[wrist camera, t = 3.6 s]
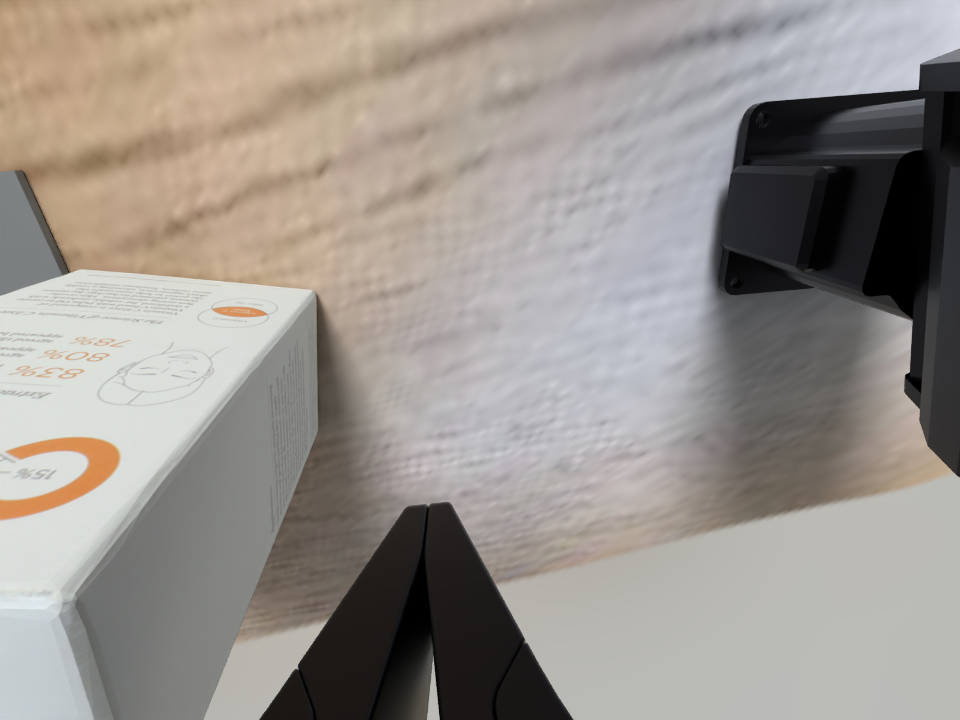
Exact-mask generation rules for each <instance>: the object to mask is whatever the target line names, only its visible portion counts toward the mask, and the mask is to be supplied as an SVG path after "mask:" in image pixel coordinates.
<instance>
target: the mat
mask: <svg viewBox="0 0 960 720" xmlns="http://www.w3.org/2000/svg"><path fill="white" fill-rule="evenodd" d="M66 274H69V272H68V270H67V268H66V266H65V263H64V261H63V259H62V257H61V255H60V253H59V250H58V248H57V246H56V244H55V242H54V239H53V237H52V235H51V233H50V231H49V228H48V226H47V224H46V222H45V220H44V217H43V215H42V213H41V211H40V209H39V206H38V204H37V202H36V200H35V198H34V195H33V193H32V191H31V189H30V187H29V184H28V182H27V180H26V178H25V176H24V173H23V171H5V172H0V296H2V295H5V294H8V293H11V292H13V291H16V290H19V289H22V288H25V287H28V286H31V285H35V284H38V283H41V282H44V281H47V280H50V279H53V278H57V277H61V276H63V275H66Z"/></svg>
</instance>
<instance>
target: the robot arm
mask: <svg viewBox="0 0 960 720" xmlns="http://www.w3.org/2000/svg"><path fill="white" fill-rule="evenodd" d="M761 112H762V114H763V115H764V120H763V123H762V125H761V126H760V127H758V125H757V123H756V119H757V116H758V115H759V114H760V113H761ZM721 243H722V245H723V253H722V260H721V267H720V274H719V281H718V282H719V287H720V289H721V290H722V291H724V292H726V293H728V294H730V295H742V294H752V293H763V292H774V291H785V290H796V289H807V288H818V289H821V290H824V291H827V292H830V293H833V294H836V295H839V296H841V297H844V298H847V299H850V300H853V301H856V302H859V303H862V304H865V305H868V306H870V307H873V308H876V309H879V310H882V311H885V312H888V313H891V314H894V315H897V316H900V317H902V318H905V319H908V320H911V321H913V325H912V344H911V362H910V373H908V374H906V375H905V384H904V392H905V394H906V395H907V396H908V397H909V398H910V399H911V400H912V401H913V402H914V403H915V405H916V406H917V407H918V408H919V409H920V417H919V421H920V424H921V427H922V430H923V433H924V436H925V439H926V442H927V445H928V447H929V448H930V449H931V450H932V451H933V452H934V453H935V454H936V455H937V456H938V457H939V458H940V459H941V460H942V461H943V462H944V463H945V464H946V465H947V466H948V467H949V468H950V469H951V470H952V471H953V472H954V473H955V474H956V475H957V476H959V477H960V49H958V50H955V51H952V52H950V53H947V54H945V55H942V56H939V57H937V58H934V59H932V60H929V61H926V62H924V63H922V64H920V79H919V90H909V91H896V92H884V93H871V94H858V95H846V96H833V97H820V98H808V99H795V100H782V101H770V102H763V103H758V104H755V105H752V106H751V107H750V108H749V109H748V110H747V111H746V112H745V114H744V116H743V119H742V124H741V131H740V138H739V144H738V151H737V158H736V165H735V170H734V171H733V172H732V174H731V178H730V185H729V192H728V199H727V206H726V213H725V220H724V227H723V234H722V241H721ZM736 276H737V282H736V283H735V284H734V285H733V286H731V284H730V283H731V280H732V279H733V278H734V277H736ZM433 656H434V665H435V676H436V686H437V696H438V705H439V716H440V720H573V718H572V717H571V715H570V714H569V712H568V711H567V709H566V708H565V706H564V705H563V703H562V702H561V700H560V699H559V697H558V696H557V694H556V692H555V691H554V689H553V687H552V685H551V684H550V682H549V680H548V679H547V677H546V675H545V674H544V672H543V670H542V668H541V667H540V665H539V663H538V661H537V660H536V658H535V656H534V654H533V652H532V651H531V649H530V647H529V645H528V644H527V643H525V638H524V637H523V635H522V633H521V631H520V629H519V627H518V625H517V624H516V622H515V620H514V618H513V616H512V614H511V612H510V611H509V609H508V607H507V605H506V604H505V601H504V600H503V598H502V596H501V594H500V592H499V590H498V589H497V587H496V585H495V583H494V581H493V579H492V578H491V576H490V574H489V572H488V570H487V568H486V567H485V565H484V563H483V561H482V559H481V557H480V556H479V554H478V552H477V550H476V548H475V546H474V545H473V543H472V541H471V539H470V537H469V535H468V534H467V532H466V530H465V528H464V526H463V524H462V523H461V521H460V519H459V517H458V515H457V513H456V512H455V510H454V508H453V506H452V504H451V503H449V502H441V503H432V504H430V506H429V507H428V506H427V505H426V504H422V505H412V506H408V507H406V508H405V509H404V511H403V512H402V514H401V515H400V517H399V518H398V520H397V521H396V523H395V524H394V525H393V527H392V528H391V530H390V531H389V533H388V534H387V536H386V537H385V539H384V540H383V542H382V543H381V544H380V546H379V547H378V549H377V550H376V552H375V553H374V555H373V556H372V558H371V559H370V560H369V562H368V563H367V565H366V566H365V568H364V569H363V571H362V572H361V574H360V575H359V577H358V578H357V579H356V581H355V582H354V584H353V585H352V587H351V588H350V590H349V591H348V593H347V594H346V595H345V597H344V598H343V600H342V601H341V603H340V604H339V606H338V607H337V609H336V610H335V612H334V613H333V614H332V616H331V617H330V619H329V620H328V622H327V623H326V625H325V626H324V628H323V629H322V631H321V632H320V633H319V635H318V636H317V638H316V639H315V641H314V642H313V644H312V645H311V647H310V648H309V650H308V651H307V652H306V654H305V655H304V657H303V658H302V660H301V661H300V663H299V664H298V669H299V670H298V669H295V670H294V671H293V672H292V674H291V675H290V677H289V678H288V680H287V681H286V683H285V684H284V686H283V687H282V688H281V690H280V692H279V693H278V694H277V696H276V697H275V699H274V700H273V701H272V703H271V704H270V705H269V707H268V708H267V710H266V711H265V712H264V714H263V715H262V717H261V718H260V719H259V720H427V713H428V701H429V692H430V682H431V671H432V662H433Z"/></svg>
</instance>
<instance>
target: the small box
mask: <svg viewBox="0 0 960 720" xmlns="http://www.w3.org/2000/svg"><path fill="white" fill-rule="evenodd" d="M317 433H318V382H317V303H316V293H315V291H313V290H307V289H296V288H286V287H276V286H265V285H255V284H244V283H234V282H223V281H212V280H200V279H190V278H179V277H168V276H157V275H146V274H134V273H123V272H109V271H97V270H85V269H82V270H77V271H75V272H72V273H69V274H66V275H63V276H61V277H57V278H53V279H50V280H47V281H44V282H41V283H38V284H35V285H31V286H28V287H25V288H22V289H19V290H16V291H13V292H11V293H8V294H5V295H2V296H0V720H203V719H204V717H205V714H206V712H207V709H208V707H209V704H210V702H211V699H212V697H213V694H214V692H215V689H216V687H217V684H218V682H219V679H220V677H221V674H222V672H223V669H224V667H225V664H226V662H227V659H228V657H229V654H230V652H231V649H232V646H233V644H234V642H235V639H236V637H237V634H238V632H239V629H240V627H241V624H242V622H243V619H244V617H245V614H246V611H247V609H248V606H249V604H250V601H251V599H252V596H253V594H254V591H255V589H256V586H257V584H258V581H259V579H260V576H261V574H262V571H263V569H264V566H265V564H266V561H267V559H268V556H269V554H270V551H271V549H272V547H273V544H274V542H275V539H276V536H277V534H278V531H279V529H280V526H281V524H282V521H283V519H284V517H285V514H286V512H287V509H288V506H289V504H290V501H291V499H292V496H293V494H294V491H295V489H296V486H297V484H298V481H299V479H300V476H301V473H302V470H303V468H304V465H305V463H306V460H307V458H308V455H309V453H310V450H311V448H312V445H313V443H314V440H315V438H316V435H317Z"/></svg>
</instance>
